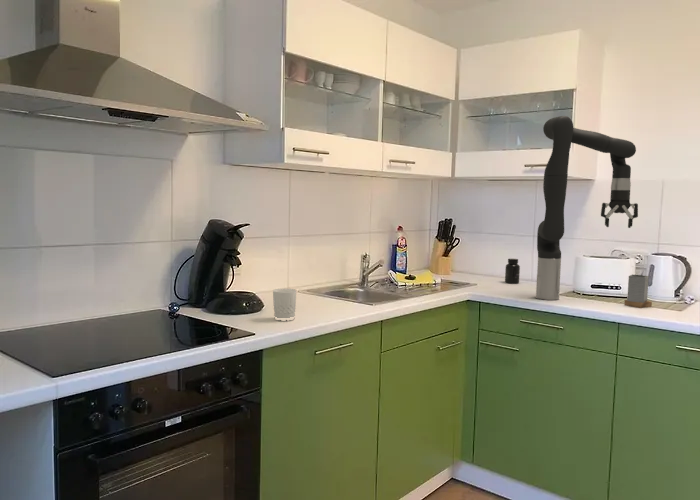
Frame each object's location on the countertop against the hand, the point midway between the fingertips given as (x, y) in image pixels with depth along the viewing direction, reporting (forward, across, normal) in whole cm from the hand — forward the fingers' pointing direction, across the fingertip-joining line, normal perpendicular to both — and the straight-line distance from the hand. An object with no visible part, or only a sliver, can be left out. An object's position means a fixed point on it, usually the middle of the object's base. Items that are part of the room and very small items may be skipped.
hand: (618, 227), depth 251 cm
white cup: (+30, -116, -90) cm, 150 cm away
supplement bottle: (+30, -43, +26) cm, 59 cm away
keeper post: (+30, +6, -19) cm, 36 cm away
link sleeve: (+28, +6, -19) cm, 34 cm away
